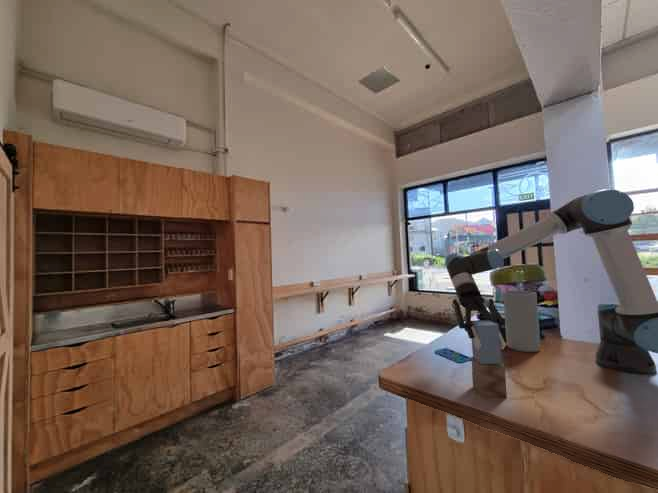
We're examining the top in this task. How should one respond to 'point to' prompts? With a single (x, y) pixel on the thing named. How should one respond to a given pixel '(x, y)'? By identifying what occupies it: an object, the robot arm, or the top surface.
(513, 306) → the grey cylinder
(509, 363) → the top surface
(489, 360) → the blue block
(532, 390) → the top surface
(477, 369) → the tower top
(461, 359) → the handheld gaming device
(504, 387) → the tower base
